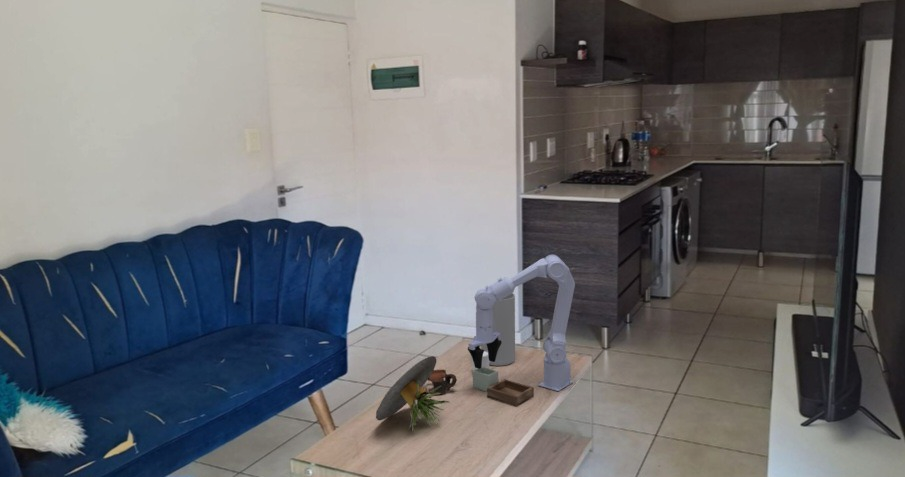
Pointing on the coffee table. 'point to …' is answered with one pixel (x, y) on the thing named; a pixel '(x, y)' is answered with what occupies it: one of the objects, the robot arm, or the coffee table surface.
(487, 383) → the green crate
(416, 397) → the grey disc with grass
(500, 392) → the walnut crate
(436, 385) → the pottery mug
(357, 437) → the coffee table surface
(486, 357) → the white cylinder
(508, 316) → the cylinder vase
